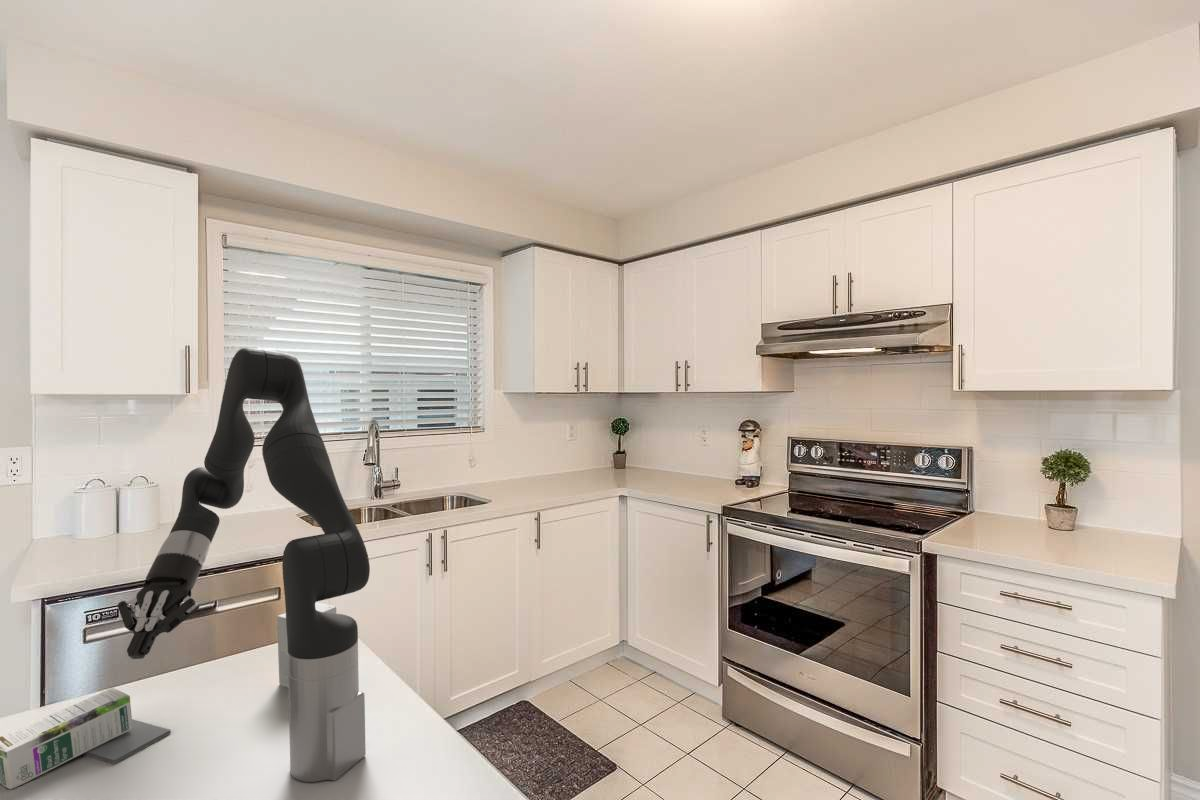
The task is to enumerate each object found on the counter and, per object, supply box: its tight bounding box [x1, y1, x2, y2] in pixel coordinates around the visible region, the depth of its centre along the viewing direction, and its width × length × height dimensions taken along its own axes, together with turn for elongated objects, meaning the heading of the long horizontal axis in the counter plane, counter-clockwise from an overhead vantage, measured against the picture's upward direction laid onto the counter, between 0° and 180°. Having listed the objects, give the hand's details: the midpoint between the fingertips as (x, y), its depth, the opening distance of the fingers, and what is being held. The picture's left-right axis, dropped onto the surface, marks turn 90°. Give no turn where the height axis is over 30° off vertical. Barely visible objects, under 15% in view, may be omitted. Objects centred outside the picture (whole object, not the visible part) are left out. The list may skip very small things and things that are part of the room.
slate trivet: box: [82, 718, 172, 765], centre depth 91 cm, size 13×8×1 cm, turn 70°
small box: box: [276, 601, 337, 689], centre depth 109 cm, size 8×6×13 cm
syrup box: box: [0, 687, 134, 790], centre depth 87 cm, size 6×6×14 cm
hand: (135, 657), depth 96 cm, fingers closed
